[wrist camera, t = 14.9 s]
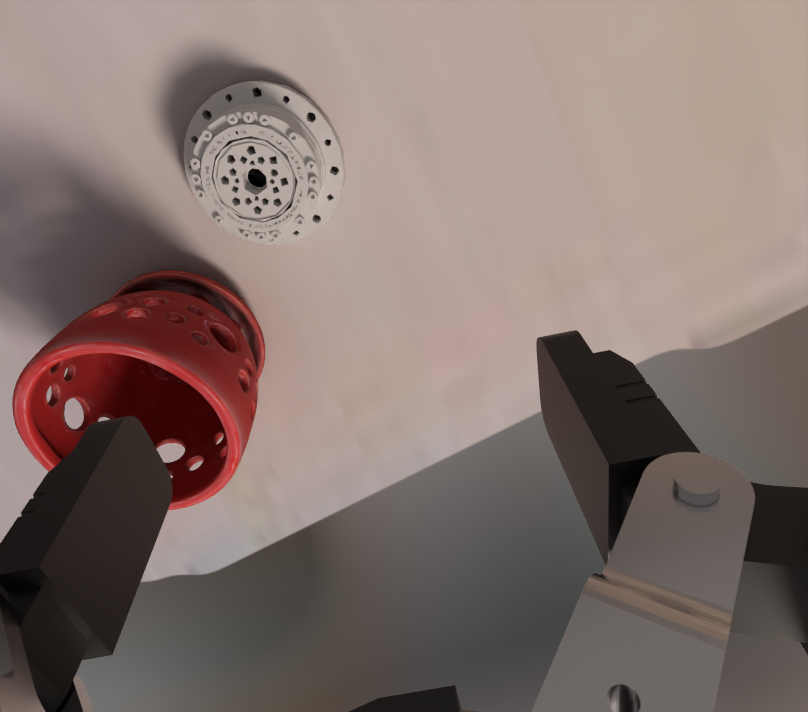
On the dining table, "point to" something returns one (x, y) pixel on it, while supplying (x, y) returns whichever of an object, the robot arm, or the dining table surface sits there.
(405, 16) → the dining table surface
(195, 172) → the mechanical component
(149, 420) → the plant pot
